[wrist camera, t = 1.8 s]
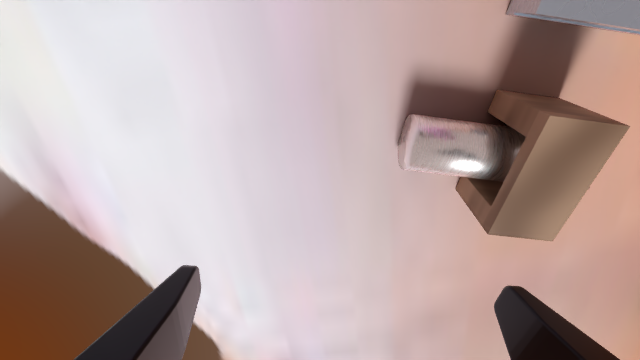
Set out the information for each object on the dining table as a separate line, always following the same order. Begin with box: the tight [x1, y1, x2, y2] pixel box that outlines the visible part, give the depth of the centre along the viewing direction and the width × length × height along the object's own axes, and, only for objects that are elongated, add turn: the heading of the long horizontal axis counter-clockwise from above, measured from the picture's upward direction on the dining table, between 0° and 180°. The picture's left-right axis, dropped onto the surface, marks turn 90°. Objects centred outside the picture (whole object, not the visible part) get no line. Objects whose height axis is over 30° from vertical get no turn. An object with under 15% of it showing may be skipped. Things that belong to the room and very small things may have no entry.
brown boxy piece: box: [456, 90, 630, 241], centre depth 18 cm, size 4×7×5 cm, turn 173°
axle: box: [398, 114, 526, 182], centre depth 19 cm, size 9×3×3 cm, turn 83°
